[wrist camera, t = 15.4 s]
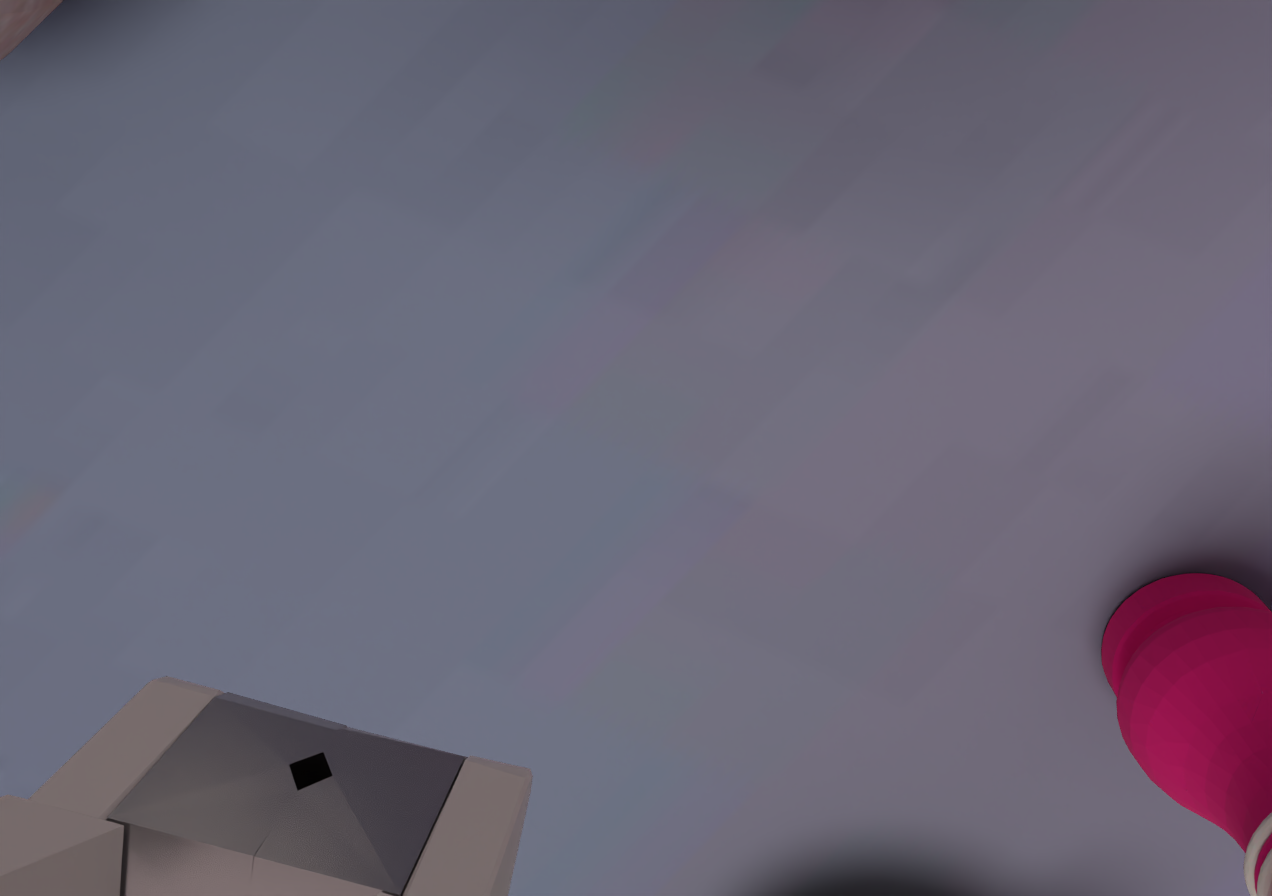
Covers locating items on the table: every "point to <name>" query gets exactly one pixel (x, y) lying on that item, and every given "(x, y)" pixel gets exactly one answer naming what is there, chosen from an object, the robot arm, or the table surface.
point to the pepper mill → (1200, 703)
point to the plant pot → (21, 20)
